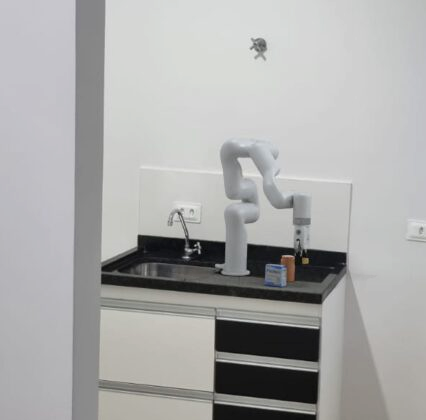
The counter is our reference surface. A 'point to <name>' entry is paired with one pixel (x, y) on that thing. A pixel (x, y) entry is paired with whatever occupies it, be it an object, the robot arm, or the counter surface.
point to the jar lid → (303, 260)
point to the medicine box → (275, 275)
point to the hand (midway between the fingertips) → (300, 264)
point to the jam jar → (289, 267)
